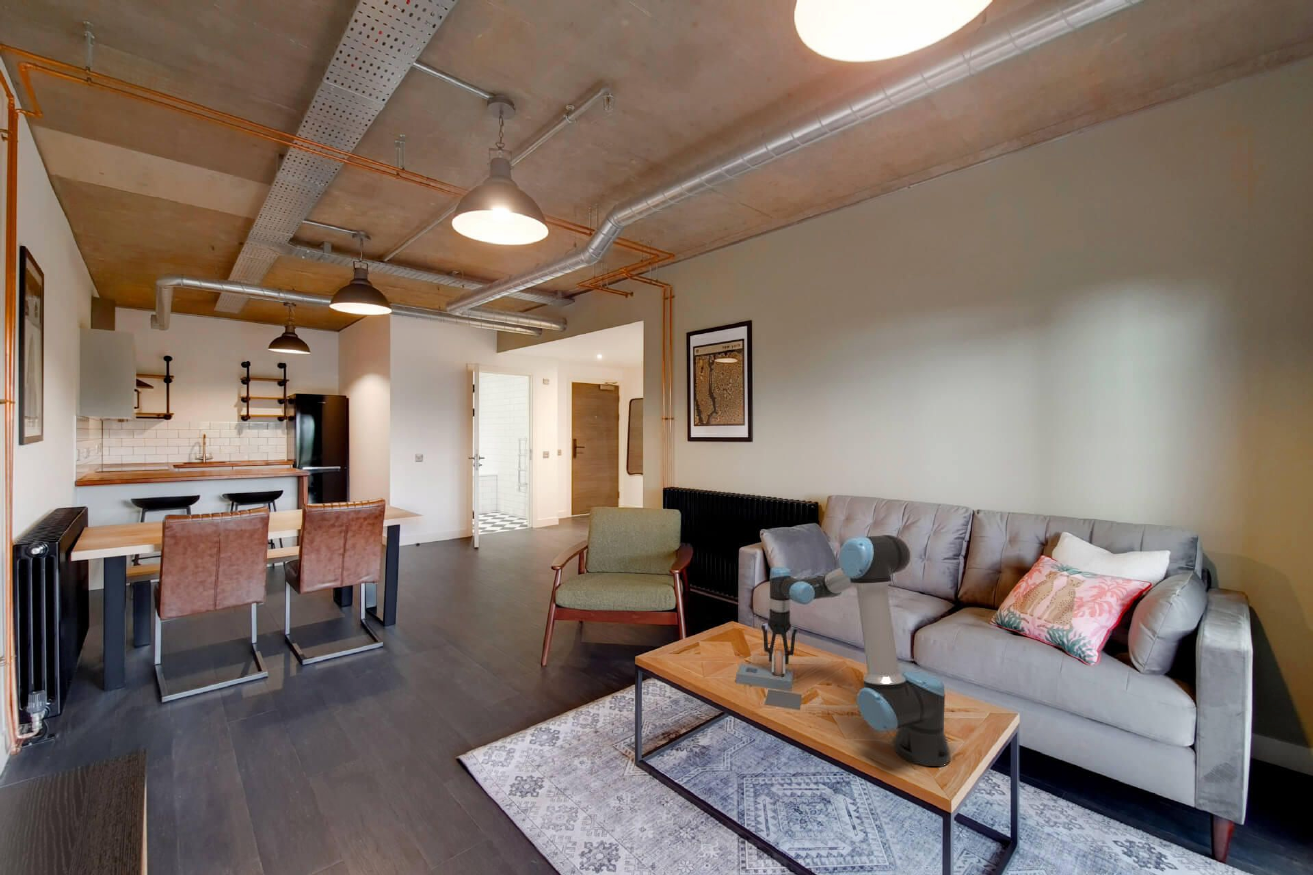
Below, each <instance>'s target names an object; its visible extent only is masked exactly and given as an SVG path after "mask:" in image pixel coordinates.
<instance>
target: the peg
mask: <svg viewBox="0 0 1313 875" xmlns="http://www.w3.org/2000/svg"><path fill="white" fill-rule="evenodd" d="M774 652H775V669H774V676H779V677H782V675H783V655H784V649H780V648H776V649H774Z"/></svg>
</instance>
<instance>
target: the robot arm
mask: <svg viewBox="0 0 1313 875" xmlns="http://www.w3.org/2000/svg"><path fill="white" fill-rule="evenodd" d="M838 555H839V558H838V562H839V568H837V569H835V570H833V571H831V572H828V573H827V574H825V575H822V576H817V577H809V578H798V579H797V578H794V577H792V572H791V570H790V569H789V568H788V567H786V566H785V567H784V566H775V567H772V568H771V569H770V570H769V571H770V572H769V573H770V574H769V608H770V609H769V614H768V615H769V616H768V617H769V620H768V621H767V623H762V624H761V630H762V632H763V633H762V634H763V651H764V652H765V653H768V662H769V663H771V668H772V672H774V669H775V651H774V646H775V643H776V641H775V640H776V638H777V637H776V636H777V635H780V636H781V637H782V638H781V639H782V642H783V644H782V645H783V652H784V653H783V674H785V671H786V670H787V669H786V665H789V662H790V661H789V660H790V659H789V658H790V656H794V652H795V643H796V642H795V641H796V635H797V633H798V627H796V626H795V627H794V626H792V624H791V611H790V609H791V601H793V602H795V603H797V604H801V605H805V606H807V605H809V604H810V603H811V602H813V601H814V600H819V599H827V598H828V599H829V598H831V599H832V598H835V597H838V596H839V597H840V595H842V592H844V591H846V590H849V589H851V588H853V587H854V588H856V593H857V594H856V595H857V601H858V608H859V609H858V610H859V616H860V617H859V618H860V624H861V632H862V638H863V646H864V654H865V661H866V662H865V663H866V669H867V673H866V674H865V675H864V676H863V678H862V680H863V681H862V683H863V688H861V689H860V690H859V691H858V693H857V697H856V703H857V707H858V709H859V712H860V714H861V716H862V718H863V719H864V720H865V723H867V724H868V725H869V726H870V727H871V728H872V729H874V730H875V731H879V732H887V731H890V732H891V731H895V730H897V731H896V733H895V736H894V737H893V738H894V739H893V740H894V741H893V748H894V750H895V752H896V753H897V754H898V755H899V756H900V757H901V758H903V759H905V760H906V761H908V762H910V763H912V762H913V763H912V764H915V763H916V764H915V765H918V764H921V765H920V766H922V765H924V766H923V767H927V766H941V767H943V766H942V765H944V764H947V763H948V762H949V763H950V761H951V749H950V746H949V744H948V741H947V737H946V734H945V704H946V703H945V700H946V693H945V684H944V683H943V681H942V680H941V679H939V677H936V676H934V675H932V674H930V673H927V672H924V671H918V670H914V669H912V670H911V669H907V670H906V669H905V670H903V671H902V673H900V672H899V663H898V656H897V649H896V643H895V636H894V635H895V634H894V628H893V620H892V613H891V608H890V599H889V594H888V593H889V592H888V586H890V584H891V583H892V575H893V574H896V573H899V572H902V571H903V570H906V568H907V567H908V565H909V564H910V562H911V550H910V549H909V546H908V545H907V543H906V542H905V541H904V540H903V539H901V538H900V537H898V536H896V535H891V534H884V535H874V536H873V535H871V536H859V537H854V538H850V539H848V540H846V541H845V542H844V543H843V545H842V546H841V548H840V551H839V554H838ZM768 629H770V630H771V632H772V636H771V640H770V644H769V640H768V638H769V637H768ZM789 631H790V633H791V639H790V650H789V644H788V637H787V633H788V632H789ZM769 645H770V646H769ZM949 760H950V761H949ZM949 763H948V764H949ZM948 764H947V765H948Z"/></svg>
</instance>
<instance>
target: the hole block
mask: <svg viewBox="0 0 1313 875" xmlns="http://www.w3.org/2000/svg"><path fill="white" fill-rule="evenodd" d="M735 678H736V681H735V682H736V684H739V685H745V686H751V687H759V688H763V689H770V690H776V691H783V692H789V693H792V688H793V684H794V683H793V682H794V670H792V669H786V671H785V674H783V675H782V677H779V676H774V672H772V666H771V667H770V666H764V665H757V664H756V665H755V664H749V663H742V662H741V663H740V665H739V667H738V670H737V672H736V677H735Z"/></svg>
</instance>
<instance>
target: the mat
mask: <svg viewBox="0 0 1313 875" xmlns="http://www.w3.org/2000/svg"><path fill="white" fill-rule="evenodd" d="M802 700H803V694H802V693H794V692H790V691H783V690H777V689H770V688H767V693H766V697H765V701H764V705H766V706H770V707H771V706H772V707H777V708H784V709H789V710H797V711H801V706H802Z"/></svg>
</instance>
